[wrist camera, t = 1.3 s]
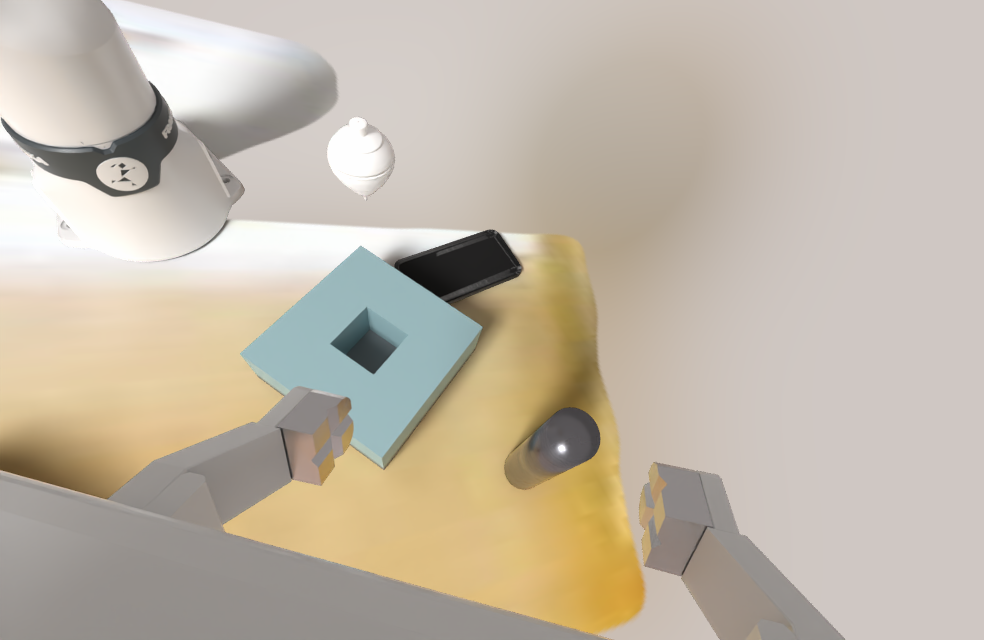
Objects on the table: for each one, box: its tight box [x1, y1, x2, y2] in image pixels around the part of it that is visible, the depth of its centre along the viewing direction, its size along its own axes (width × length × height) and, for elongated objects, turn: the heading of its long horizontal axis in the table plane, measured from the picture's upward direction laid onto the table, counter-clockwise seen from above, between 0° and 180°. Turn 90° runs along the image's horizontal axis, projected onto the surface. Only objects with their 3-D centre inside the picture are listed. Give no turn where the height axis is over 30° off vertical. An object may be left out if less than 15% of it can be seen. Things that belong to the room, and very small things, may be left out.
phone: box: [395, 230, 521, 304], centre depth 54 cm, size 8×1×15 cm
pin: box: [504, 407, 600, 490], centre depth 38 cm, size 4×4×15 cm
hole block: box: [240, 246, 483, 470], centre depth 44 cm, size 16×16×6 cm
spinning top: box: [327, 117, 395, 200], centre depth 52 cm, size 8×8×12 cm
